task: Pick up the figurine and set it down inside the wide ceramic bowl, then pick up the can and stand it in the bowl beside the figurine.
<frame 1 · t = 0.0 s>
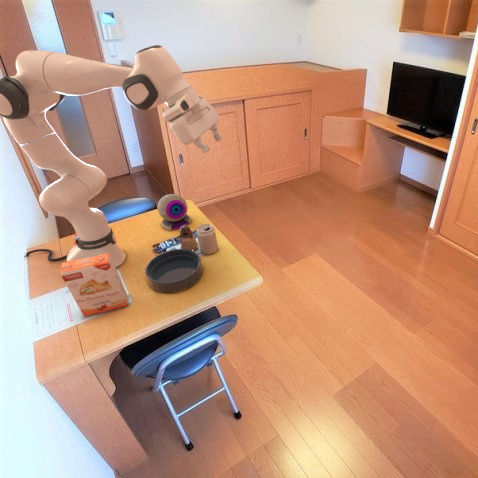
hand: (213, 145, 108), 54 cm above the table, tool tilted 30°, fingers open, 8 cm apart
bowl: (176, 275, 140), on the table
can: (209, 250, 154), on the table
figurine: (190, 248, 154), on the table
webcam: (176, 223, 170), on the table
cracker box: (107, 307, 126), on the table
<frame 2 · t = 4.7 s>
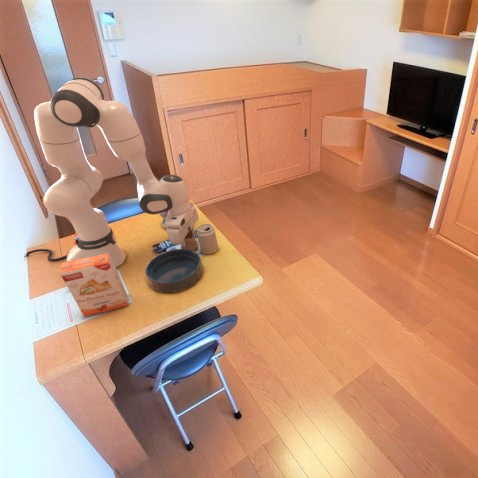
hand: (188, 240, 151), 5 cm above the table, tool pointing down, fingers closed on figurine, 6 cm apart
figurine: (190, 248, 154), on the table, touching gripper
everything else where it was.
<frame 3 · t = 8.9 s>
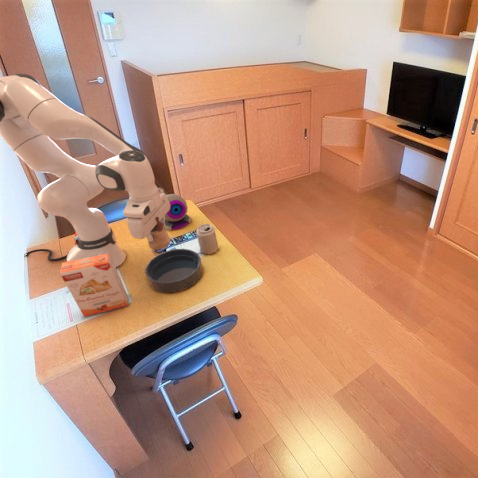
hand: (157, 233, 124), 22 cm above the table, tool pointing down, fingers closed on figurine, 6 cm apart
figurine: (160, 244, 127), point 18 cm above the table, touching gripper
everything else where it was.
when the fingers open (5 cm above the table, at t = 13.3 s): figurine stays where it is, resting on bowl.
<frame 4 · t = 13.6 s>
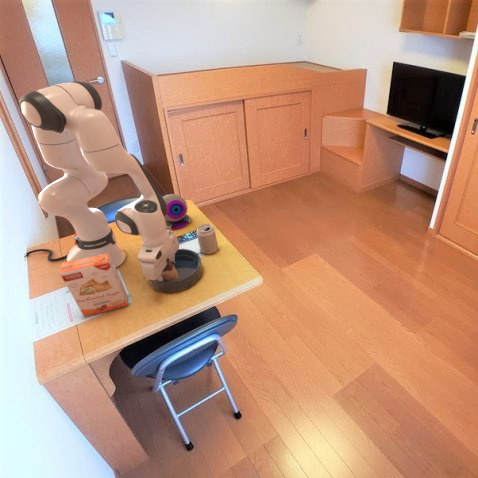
hand: (167, 272, 134), 5 cm above the table, tool pointing down, fingers open, 8 cm apart
figurine: (170, 281, 137), resting on bowl
everything else where it was.
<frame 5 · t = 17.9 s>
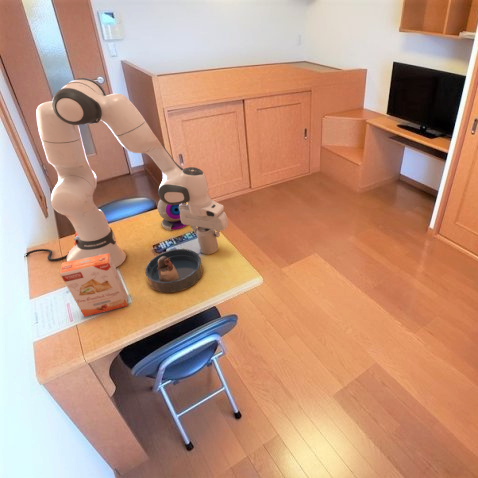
hand: (207, 234, 149), 8 cm above the table, tool pointing down, fingers open, 8 cm apart
nothing on the table moved.
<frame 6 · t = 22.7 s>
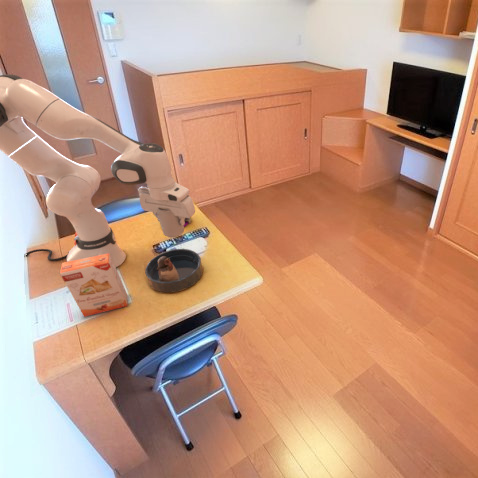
hand: (171, 222, 131), 22 cm above the table, tool pointing down, fingers closed on can, 7 cm apart
can: (174, 233, 134), point 17 cm above the table, touching gripper
everything else where it was.
when the fingers open (5 cm above the table, at t = 27.0 s): can stays where it is, resting on bowl.
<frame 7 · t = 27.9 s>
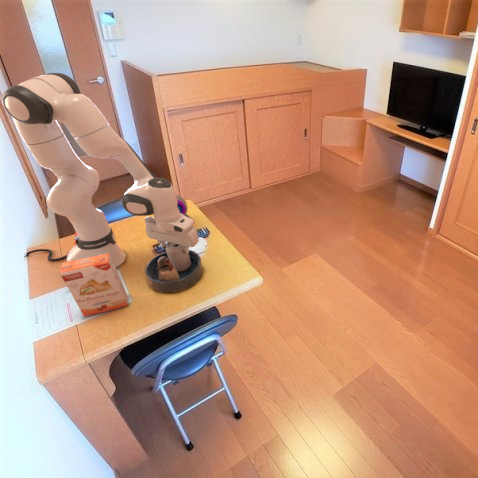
hand: (175, 250, 138), 10 cm above the table, tool pointing down, fingers open, 8 cm apart
can: (182, 267, 143), point 1 cm above the table, touching bowl, gripper
everything else where it was.
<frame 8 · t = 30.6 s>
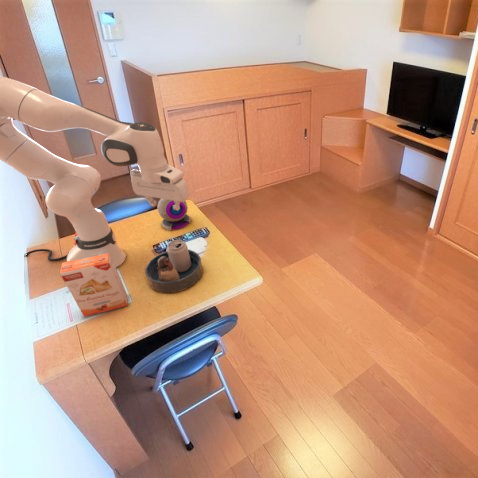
hand: (165, 207, 126), 29 cm above the table, tool pointing down, fingers open, 8 cm apart
can: (182, 267, 143), resting on bowl
everything else where it was.
at the end: figurine inside the target area in the bowl (4.1 cm from its centre), point 0.4 cm above the bowl's base; can inside the target area in the bowl (4.3 cm from its centre), point 0.4 cm above the bowl's base; can tilted 0° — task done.
